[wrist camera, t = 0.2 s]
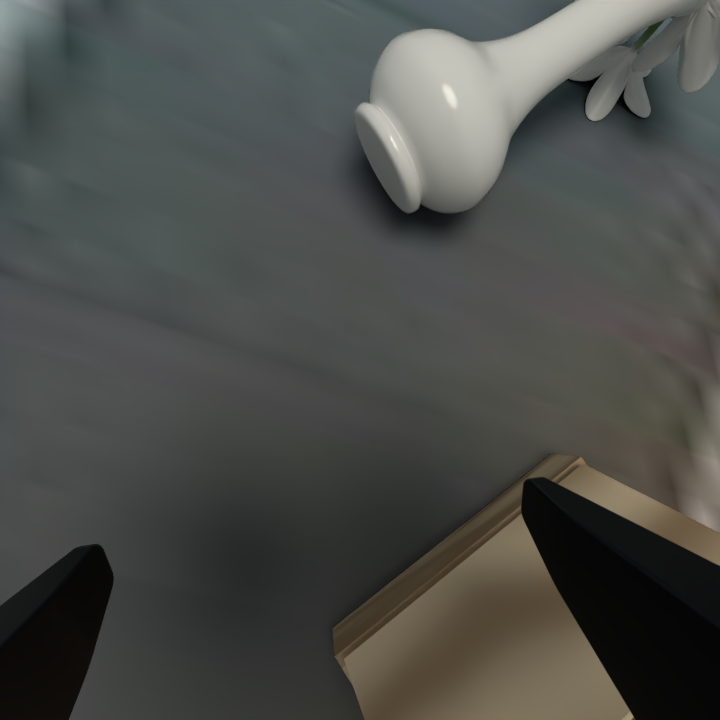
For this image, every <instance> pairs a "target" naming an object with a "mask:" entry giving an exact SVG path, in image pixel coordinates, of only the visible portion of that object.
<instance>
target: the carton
mask: <svg viewBox="0 0 720 720" xmlns="http://www.w3.org/2000/svg"><path fill="white" fill-rule="evenodd" d="M582 464H584V465H586V466H587V464H586V463H585V462H584V460H583V459H582V458H581V457H578V456H568V455H557V454H551V455H550V456H548V457H547V458H546V459H545V460H543V461H542V462H541V463H540V464H538V465H537V466H536V467H534V468H533V469H532V470H531V471H529V472H528V473H527V474H526V475H524V476H523V477H522V478H521V479H519V480H518V481H517V482H516V483H514V484H513V485H512V486H511V487H509V488H508V489H507V490H506V491H504V492H503V493H502V494H501V495H499V496H498V497H497V498H496V499H494V500H493V501H492V502H490V503H489V504H488V505H487V506H485V507H484V508H483V509H482V510H480V511H479V512H478V513H477V514H475V515H474V516H473V517H472V518H470V519H469V520H468V521H467V522H465V523H464V524H463V525H462V526H460V527H459V528H458V529H457V530H455V531H454V532H453V533H452V534H450V535H449V536H448V537H447V538H445V539H444V540H443V541H441V542H440V543H439V544H438V545H436V546H435V547H434V548H433V549H431V550H430V551H429V552H428V553H426V554H425V555H424V556H423V557H421V558H420V559H419V560H418V561H416V562H415V563H414V564H413V565H411V566H410V567H409V568H408V569H406V570H405V571H404V572H403V573H401V574H400V575H399V576H398V577H396V578H395V579H394V580H392V581H391V582H390V583H389V584H387V585H386V586H385V587H384V588H382V589H381V590H380V591H379V592H377V593H376V594H375V595H374V596H372V597H371V598H370V599H369V600H367V601H366V602H365V603H364V604H362V605H361V606H360V607H359V608H357V609H356V610H355V611H354V612H352V613H351V614H350V615H349V616H347V617H346V618H345V619H343V620H342V621H341V622H340V623H338V624H337V625H336V626H335V627H333V628H332V631H333V643H334V655H335V658H336V660H337V661H338V663H339V665H340V666H341V668H342V669H343V671H344V672H345V674H346V676H347V677H348V679H349V680H350V682H351V684H352V681H351V678H350V676H349V673H348V670H347V667H346V664H345V661H344V658H346V657H347V656H348V655H349V654H351V653H352V652H353V651H354V650H355V649H357V648H358V647H359V646H360V645H362V644H363V643H364V642H365V641H366V640H368V639H369V638H370V637H371V636H373V635H374V634H375V633H376V632H377V631H379V630H380V629H381V628H382V627H384V626H385V625H386V624H387V623H388V622H390V621H391V620H392V619H393V618H395V617H396V616H397V615H398V614H399V613H401V612H402V611H403V610H404V609H406V608H407V607H408V606H409V605H410V604H412V603H413V602H414V601H415V600H417V599H418V598H419V597H420V596H421V595H423V594H424V593H425V592H426V591H428V590H429V589H430V588H431V587H432V586H434V585H435V584H436V583H437V582H439V581H440V580H441V579H442V578H443V577H445V576H446V575H447V574H448V573H450V572H451V571H452V570H453V569H454V568H456V567H457V566H458V565H459V564H461V563H462V562H463V561H464V560H465V559H467V558H468V557H469V556H470V555H472V554H473V553H474V552H475V551H476V550H478V549H479V548H480V547H481V546H483V545H484V544H485V543H486V542H488V541H489V540H490V539H491V538H492V537H494V536H495V535H496V534H497V533H499V532H500V531H501V530H502V529H503V528H505V527H506V526H507V525H508V524H510V523H511V522H512V521H513V520H514V519H516V518H517V517H518V516H519V515H521V514H522V513H521V502H522V490H523V483H524V481H525V480H526V479H529V478H535V477H545V478H547V479H549V480H551V481H553V482H555V483H557V484H558V483H560V482H561V481H562V480H563V479H565V478H566V477H567V476H568V475H569V474H571V473H572V472H573V471H574V470H576V469H577V468H578V467H579V466H580V465H582ZM352 685H353V684H352ZM632 720H635V719H634V717H633V718H632Z"/></svg>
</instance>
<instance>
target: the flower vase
mask: <svg viewBox="0 0 720 720" xmlns="http://www.w3.org/2000/svg"><path fill="white" fill-rule="evenodd" d="M670 17H671V18H673V19H672V21H671V22H670V23H669V24H668V25H667V27H666V28H665V29H664V30H663V31H662V32H661V33H660V34H659V35H658V36H657V37H655V38H654V39H653V40H652V41H651V42H650V43H649V44H648V45H647V46H646V47H645V48H644V49H643V50H642V51H641V52H640V53H639V54H637V51H638V50H639V49H640V47H641V46H642V45H643V44H644V43H645V42H646V41H647V40H648V39H649V37H650V36H651V35H652V34H653V33H654V32H655V30H656V29H657V28H658V27H659V26H660V25H661V24H662V23H663V22H664V21H665V19H667V18H670ZM647 27H649V28H648V29H647V30H646V31H645V32H644V33H643V35H642V36H641V37H640V38H639V39H638V40H637V41H636V42H635V43H634V45H633V46H632V47H625V46H621V44H623V43H625V42H626V41H627V40H628V39H629V38H630V37H631V36H632V35H634V34H635V33H637V32H639V31H641V30H643V29H645V28H647ZM681 40H682V41H681ZM680 42H681V46H680V53H679V61H678V68H677V77H678V83H679V87H680V88H681V90H683V91H684V92H686V93H691V92H696V91H698V90H699V89H701V88H702V87H703V86H704V85H705V84H706V83H707V82H708V81H709V80H710V78H711V77H712V75H713V74H714V72H715V70H716V68H717V66H718V63H719V61H720V0H573V3H571V4H569V5H568V6H566V7H564V8H563V9H561V10H559V11H558V12H556V13H555V14H553V15H551V16H550V17H548V18H546V19H544V20H543V21H541V22H539V23H538V24H536V25H534V26H532V27H530V28H528V29H526V30H524V31H522V32H519V33H517V34H515V35H512V36H509V37H505V38H502V39H496V40H490V41H480V42H474V41H471V40H468V39H466V38H463V37H461V36H459V35H457V34H455V33H452V32H449V31H445V30H439V29H416V30H412V31H408V32H405V33H402V34H400V35H398V36H397V37H395V38H394V39H393V40H392V41H391V42H390V43H389V44H388V45H387V46H386V47H385V48H384V49H383V51H382V52H381V54H380V56H379V58H378V60H377V62H376V65H375V67H374V70H373V73H372V78H371V83H370V89H369V103H367V102H363V103H361V104H360V105H359V106H357V108H356V109H355V112H354V122H355V127H356V131H357V134H358V137H359V140H360V142H361V145H362V148H363V150H364V152H365V154H366V157H367V159H368V161H369V163H370V165H371V167H372V169H373V171H374V173H375V174H376V176H377V178H378V180H379V181H380V183H381V185H382V186H383V188H384V189H385V191H386V192H387V194H388V195H389V197H390V198H391V199H392V201H393V202H394V203H395V204H396V205H397V206H398V207H399V208H400V209H401V210H402V211H403V212H405V213H408V214H410V213H413V212H415V211H416V210H418V209H419V207H420V205H422V206H424V207H426V208H427V209H430V210H434V211H437V212H440V213H451V214H454V213H460V212H464V211H466V210H469V209H471V208H473V207H474V206H476V205H477V204H478V203H479V202H480V201H481V200H482V199H483V198H484V197H485V196H486V195H487V194H488V193H489V191H490V190H491V188H492V187H493V185H494V183H495V182H496V180H497V178H498V176H499V174H500V172H501V170H502V168H503V165H504V163H505V159H506V156H507V152H508V148H509V144H510V141H511V138H512V136H513V134H514V133H515V131H516V130H517V128H518V127H519V126H520V124H521V123H522V121H523V120H524V119H525V117H526V116H527V115H528V114H529V112H530V111H531V110H532V109H533V108H534V107H535V106H536V105H537V104H538V103H539V102H540V101H541V100H542V99H543V98H544V97H545V96H546V95H547V94H549V93H550V92H551V91H552V90H554V89H555V88H556V87H557V86H559V85H560V84H561V83H563V82H564V81H566V80H567V79H571V80H574V81H589V80H592V79H594V78H596V77H598V76H599V75H601V74H602V73H603V74H602V75H601V76H600V77H599V79H598V80H597V81H596V82H595V84H594V85H593V87H592V89H591V90H590V92H589V94H588V97H587V100H586V104H585V113H586V116H587V117H588V119H590V120H592V121H599V120H601V119H603V118H604V117H605V116H606V115H607V114H608V113H609V112H610V111H611V109H612V108H613V107H614V105H615V104H616V102H617V100H618V98H619V97H620V95H621V93H622V91H623V90H624V88H625V91H624V100H625V103H626V104H627V106H628V108H629V109H630V110H631V111H632V112H633V113H634V114H636V115H637V116H640V117H643V118H647V117H648V116H649V115H650V112H651V107H650V103H649V99H648V96H647V93H646V90H645V86H644V82H643V77H646V76H648V75H649V74H650V72H651V70H652V68H654V67H656V66H657V65H659V64H661V63H663V62H664V61H665V60H667V59H668V58H669V57H670V56H672V55H673V54H674V53H675V51H676V50H677V48H678V46H679V44H680ZM625 86H626V87H625Z"/></svg>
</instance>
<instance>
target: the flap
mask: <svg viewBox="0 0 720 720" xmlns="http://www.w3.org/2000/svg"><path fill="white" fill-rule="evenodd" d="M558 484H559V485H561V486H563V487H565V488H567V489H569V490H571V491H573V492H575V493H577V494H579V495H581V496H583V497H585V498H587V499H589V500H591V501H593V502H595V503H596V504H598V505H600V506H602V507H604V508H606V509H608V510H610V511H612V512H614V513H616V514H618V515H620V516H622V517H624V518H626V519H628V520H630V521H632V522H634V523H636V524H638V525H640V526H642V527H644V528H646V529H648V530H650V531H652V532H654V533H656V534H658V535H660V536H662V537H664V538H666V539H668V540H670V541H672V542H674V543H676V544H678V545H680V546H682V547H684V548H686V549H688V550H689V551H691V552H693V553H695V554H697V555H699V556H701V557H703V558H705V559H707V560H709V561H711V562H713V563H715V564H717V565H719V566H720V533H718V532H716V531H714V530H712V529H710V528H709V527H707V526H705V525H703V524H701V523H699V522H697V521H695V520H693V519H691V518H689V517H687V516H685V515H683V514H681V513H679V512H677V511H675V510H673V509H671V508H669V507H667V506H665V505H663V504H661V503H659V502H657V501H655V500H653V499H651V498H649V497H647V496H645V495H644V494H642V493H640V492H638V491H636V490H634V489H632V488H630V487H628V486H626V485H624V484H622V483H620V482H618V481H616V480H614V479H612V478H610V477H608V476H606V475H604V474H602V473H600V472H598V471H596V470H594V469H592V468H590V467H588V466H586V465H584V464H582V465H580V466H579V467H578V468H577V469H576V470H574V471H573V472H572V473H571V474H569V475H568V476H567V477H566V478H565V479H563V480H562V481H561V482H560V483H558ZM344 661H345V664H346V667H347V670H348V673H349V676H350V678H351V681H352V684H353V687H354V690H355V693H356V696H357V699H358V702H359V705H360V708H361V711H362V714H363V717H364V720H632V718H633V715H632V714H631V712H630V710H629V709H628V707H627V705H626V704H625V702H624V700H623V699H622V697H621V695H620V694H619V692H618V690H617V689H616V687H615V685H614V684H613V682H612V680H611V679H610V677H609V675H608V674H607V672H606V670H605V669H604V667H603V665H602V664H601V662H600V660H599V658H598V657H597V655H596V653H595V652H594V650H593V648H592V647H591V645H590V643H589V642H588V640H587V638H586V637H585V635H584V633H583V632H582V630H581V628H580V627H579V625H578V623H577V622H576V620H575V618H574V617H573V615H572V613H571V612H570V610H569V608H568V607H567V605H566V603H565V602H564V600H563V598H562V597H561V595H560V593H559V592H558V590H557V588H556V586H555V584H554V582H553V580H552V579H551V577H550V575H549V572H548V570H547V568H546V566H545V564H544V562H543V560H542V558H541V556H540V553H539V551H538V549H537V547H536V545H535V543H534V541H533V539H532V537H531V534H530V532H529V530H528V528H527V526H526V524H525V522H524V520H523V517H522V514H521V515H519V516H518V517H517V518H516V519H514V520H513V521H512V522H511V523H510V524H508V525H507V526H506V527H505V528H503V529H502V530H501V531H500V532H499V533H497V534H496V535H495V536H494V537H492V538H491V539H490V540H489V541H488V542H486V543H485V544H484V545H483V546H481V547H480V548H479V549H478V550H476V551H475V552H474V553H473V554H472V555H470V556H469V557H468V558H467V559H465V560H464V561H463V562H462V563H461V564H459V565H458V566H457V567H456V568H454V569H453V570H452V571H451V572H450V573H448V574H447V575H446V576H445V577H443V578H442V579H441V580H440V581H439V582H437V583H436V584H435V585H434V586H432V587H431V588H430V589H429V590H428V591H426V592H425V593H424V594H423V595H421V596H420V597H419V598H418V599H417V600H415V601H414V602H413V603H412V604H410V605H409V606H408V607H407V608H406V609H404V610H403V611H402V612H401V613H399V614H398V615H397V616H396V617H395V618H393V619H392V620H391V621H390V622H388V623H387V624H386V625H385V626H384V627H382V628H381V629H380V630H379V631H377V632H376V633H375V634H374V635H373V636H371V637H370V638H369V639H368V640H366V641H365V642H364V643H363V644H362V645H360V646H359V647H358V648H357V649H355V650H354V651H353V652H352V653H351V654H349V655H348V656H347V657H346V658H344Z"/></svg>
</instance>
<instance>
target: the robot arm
mask: <svg viewBox="0 0 720 720" xmlns="http://www.w3.org/2000/svg"><path fill="white" fill-rule="evenodd" d="M521 513H522V517H523V520H524V522H525V524H526V526H527V528H528V530H529V532H530V534H531V537H532V539H533V541H534V543H535V545H536V547H537V549H538V551H539V553H540V556H541V558H542V560H543V562H544V564H545V566H546V568H547V570H548V572H549V575H550V577H551V579H552V580H553V582H554V584H555V586H556V588H557V590H558V592H559V593H560V595H561V597H562V598H563V600H564V602H565V603H566V605H567V607H568V608H569V610H570V612H571V613H572V615H573V617H574V618H575V620H576V622H577V623H578V625H579V627H580V628H581V630H582V632H583V633H584V635H585V637H586V638H587V640H588V642H589V643H590V645H591V647H592V648H593V650H594V652H595V653H596V655H597V657H598V658H599V660H600V662H601V664H602V665H603V667H604V669H605V670H606V672H607V674H608V675H609V677H610V679H611V680H612V682H613V684H614V685H615V687H616V689H617V690H618V692H619V694H620V695H621V697H622V699H623V700H624V702H625V704H626V705H627V707H628V709H629V710H630V712H631V714H632V715H633V717H634V719H635V720H720V566H719V565H717V564H715V563H713V562H711V561H709V560H707V559H705V558H703V557H701V556H699V555H697V554H695V553H693V552H691V551H689V550H688V549H686V548H684V547H682V546H680V545H678V544H676V543H674V542H672V541H670V540H668V539H666V538H664V537H662V536H660V535H658V534H656V533H654V532H652V531H650V530H648V529H646V528H644V527H642V526H640V525H638V524H636V523H634V522H632V521H630V520H628V519H626V518H624V517H622V516H620V515H618V514H616V513H614V512H612V511H610V510H608V509H606V508H604V507H602V506H600V505H598V504H596V503H595V502H593V501H591V500H589V499H587V498H585V497H583V496H581V495H579V494H577V493H575V492H573V491H571V490H569V489H567V488H565V487H563V486H561V485H559V484H557V483H555V482H553V481H551V480H549V479H547V478H545V477H535V478H529V479H526V480H525V481H524V483H523V490H522V502H521ZM113 580H114V577H113V572H112V569H111V567H110V564H109V562H108V559H107V557H106V554H105V552H104V549H103V548H102V546H101V545H99V544H92V545H86V546H80V547H77V548H75V549H73V550H72V551H71V552H69V553H68V554H67V555H66V556H64V557H63V558H62V559H60V560H59V561H58V562H56V563H55V564H54V565H53V566H51V567H50V568H49V569H47V570H46V571H45V572H44V573H42V574H41V575H40V576H38V577H37V578H36V579H34V580H33V581H32V582H31V583H29V584H28V585H27V586H25V587H24V588H23V589H21V590H20V591H19V592H18V593H16V594H15V595H14V596H12V597H11V598H10V599H9V600H7V601H6V602H5V603H3V604H2V605H1V606H0V720H69V717H70V715H71V712H72V710H73V707H74V705H75V702H76V700H77V697H78V694H79V692H80V689H81V687H82V684H83V682H84V679H85V676H86V674H87V671H88V668H89V665H90V662H91V659H92V656H93V652H94V649H95V645H96V642H97V639H98V635H99V632H100V628H101V625H102V621H103V618H104V614H105V611H106V607H107V604H108V601H109V597H110V594H111V590H112V587H113Z"/></svg>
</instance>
